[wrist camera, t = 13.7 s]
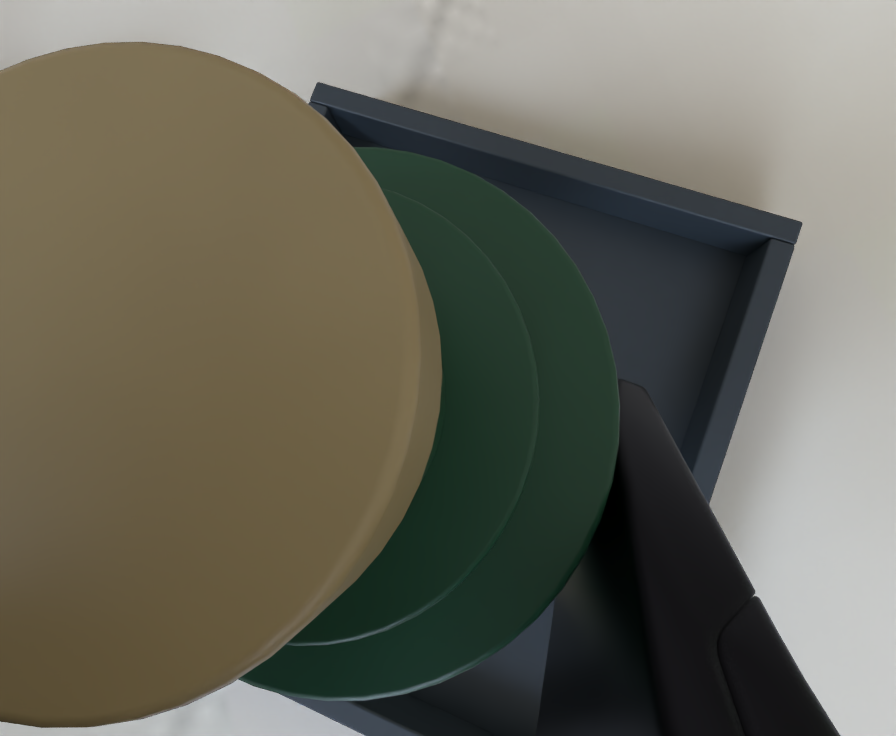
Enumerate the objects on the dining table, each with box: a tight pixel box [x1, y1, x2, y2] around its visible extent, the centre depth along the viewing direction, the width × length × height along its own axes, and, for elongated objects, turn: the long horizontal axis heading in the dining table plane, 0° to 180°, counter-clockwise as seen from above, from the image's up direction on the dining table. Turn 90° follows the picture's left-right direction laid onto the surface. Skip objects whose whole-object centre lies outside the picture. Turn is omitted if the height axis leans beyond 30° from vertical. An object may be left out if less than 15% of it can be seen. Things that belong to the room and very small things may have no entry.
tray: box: [279, 82, 802, 736], centre depth 15 cm, size 15×13×2 cm
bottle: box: [0, 42, 620, 728], centre depth 9 cm, size 6×6×13 cm
